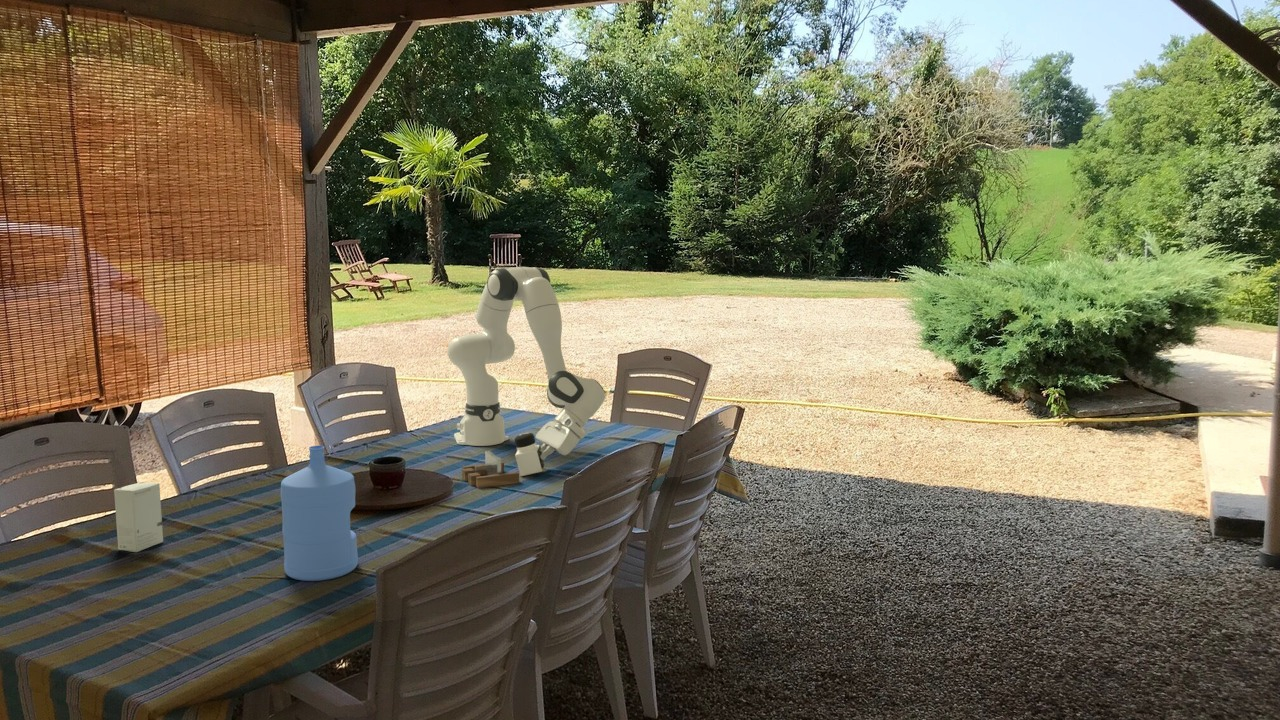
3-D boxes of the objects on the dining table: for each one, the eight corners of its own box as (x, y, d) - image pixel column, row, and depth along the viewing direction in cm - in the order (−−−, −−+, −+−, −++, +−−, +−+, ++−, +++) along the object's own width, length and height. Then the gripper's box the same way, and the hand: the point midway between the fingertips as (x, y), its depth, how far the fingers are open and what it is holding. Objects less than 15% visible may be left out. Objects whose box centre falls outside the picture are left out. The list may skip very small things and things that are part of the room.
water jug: (316, 588, 194) (310, 459, 190) (269, 572, 202) (262, 449, 198) (373, 565, 207) (368, 445, 203) (326, 552, 215) (321, 436, 211)
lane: (459, 476, 281) (459, 466, 281) (502, 470, 288) (502, 461, 288) (474, 488, 268) (474, 478, 268) (519, 482, 275) (519, 473, 274)
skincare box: (136, 553, 214) (132, 491, 212) (116, 550, 215) (111, 489, 213) (165, 541, 222) (161, 482, 219) (145, 538, 223) (141, 480, 221)
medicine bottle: (542, 471, 281) (533, 434, 279) (520, 476, 281) (510, 439, 280) (545, 465, 288) (535, 429, 286) (523, 470, 288) (513, 434, 287)
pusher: (469, 474, 281) (469, 452, 280) (489, 472, 284) (488, 450, 283) (481, 484, 271) (481, 461, 270) (501, 481, 274) (501, 458, 273)
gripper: (548, 412, 296) (520, 444, 293) (574, 423, 278) (545, 458, 275) (561, 424, 299) (534, 456, 295) (588, 436, 281) (559, 471, 278)
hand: (539, 457), depth 285 cm, fingers closed
